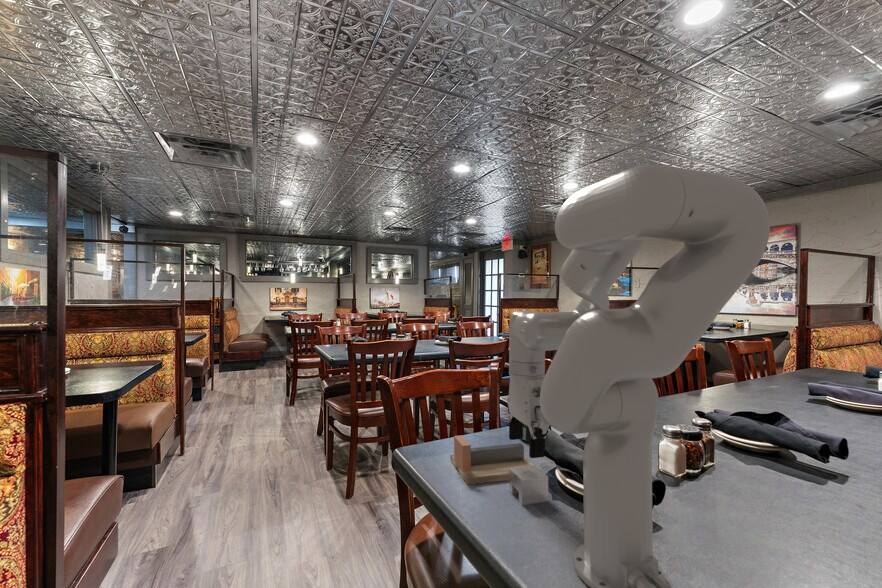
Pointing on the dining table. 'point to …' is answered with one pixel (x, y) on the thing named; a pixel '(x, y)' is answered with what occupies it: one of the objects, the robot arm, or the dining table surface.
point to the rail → (497, 454)
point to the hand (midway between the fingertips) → (525, 447)
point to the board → (489, 471)
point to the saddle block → (528, 484)
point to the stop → (462, 453)
